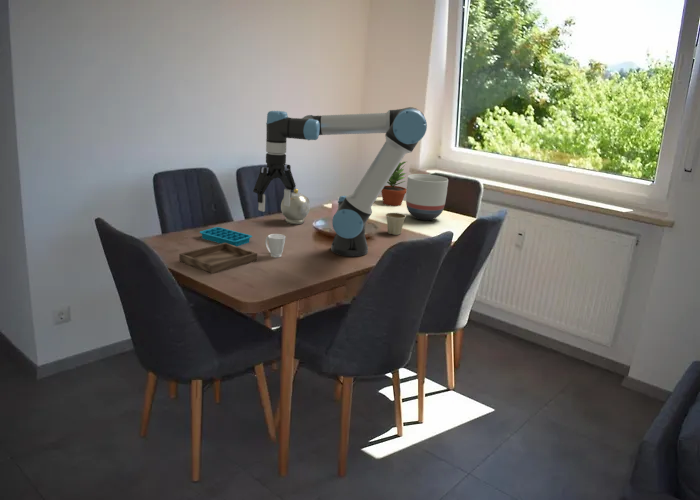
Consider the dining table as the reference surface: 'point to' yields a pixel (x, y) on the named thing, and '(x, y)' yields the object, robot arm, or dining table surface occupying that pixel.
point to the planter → (426, 195)
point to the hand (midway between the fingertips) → (274, 208)
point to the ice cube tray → (225, 236)
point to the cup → (275, 244)
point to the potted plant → (394, 188)
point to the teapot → (296, 208)
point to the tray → (218, 258)
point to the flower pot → (395, 223)
